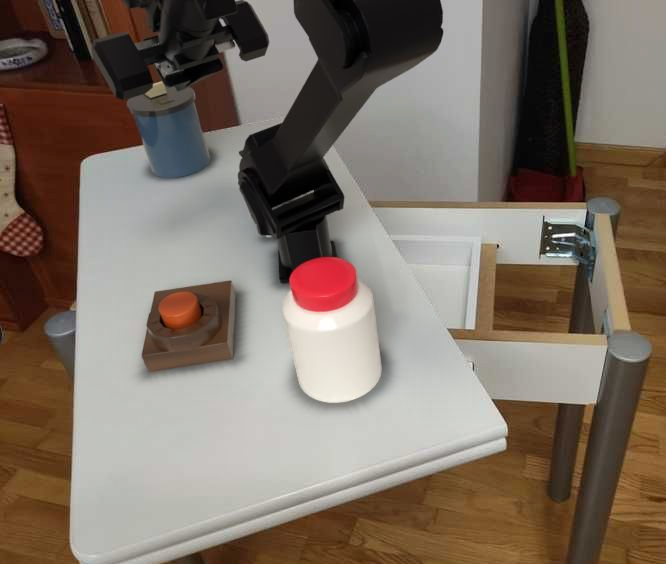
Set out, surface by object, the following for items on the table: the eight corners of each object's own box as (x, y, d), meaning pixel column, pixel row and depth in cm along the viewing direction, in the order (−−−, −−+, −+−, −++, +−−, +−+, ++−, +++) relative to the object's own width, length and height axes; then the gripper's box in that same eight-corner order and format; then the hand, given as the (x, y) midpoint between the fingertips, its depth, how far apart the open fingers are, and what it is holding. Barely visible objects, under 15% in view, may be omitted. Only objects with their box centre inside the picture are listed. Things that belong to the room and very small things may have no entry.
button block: (232, 361, 63) (222, 330, 60) (148, 374, 62) (134, 343, 60) (236, 296, 70) (227, 265, 68) (160, 307, 70) (148, 277, 67)
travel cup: (223, 163, 94) (205, 95, 88) (164, 185, 91) (141, 116, 84) (196, 144, 100) (177, 79, 93) (140, 164, 96) (116, 98, 90)
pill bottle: (372, 406, 57) (359, 308, 50) (287, 399, 58) (262, 303, 51) (388, 346, 63) (378, 250, 55) (310, 341, 64) (290, 247, 57)
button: (200, 326, 61) (195, 312, 60) (161, 332, 61) (155, 318, 60) (203, 303, 64) (198, 289, 63) (166, 308, 64) (160, 294, 63)
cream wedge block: (167, 93, 90) (163, 82, 89) (150, 98, 89) (146, 87, 88) (158, 87, 91) (155, 76, 90) (142, 92, 90) (138, 81, 89)
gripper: (233, -82, 70) (213, 10, 85) (60, -45, 62) (70, 49, 77) (285, 10, 71) (256, 86, 85) (118, 58, 63) (118, 133, 77)
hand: (178, 87), depth 81 cm, fingers closed
